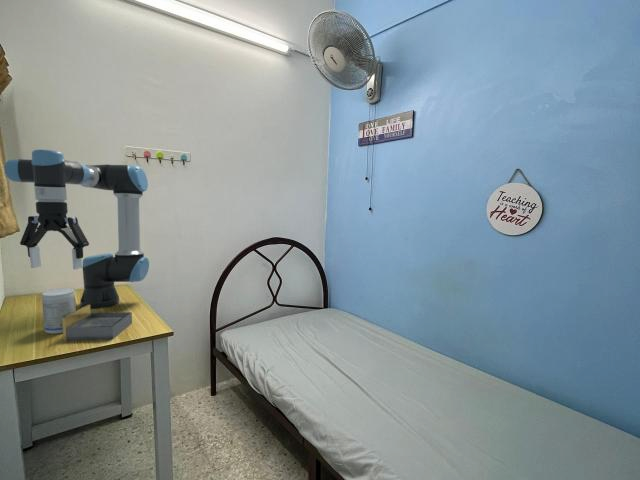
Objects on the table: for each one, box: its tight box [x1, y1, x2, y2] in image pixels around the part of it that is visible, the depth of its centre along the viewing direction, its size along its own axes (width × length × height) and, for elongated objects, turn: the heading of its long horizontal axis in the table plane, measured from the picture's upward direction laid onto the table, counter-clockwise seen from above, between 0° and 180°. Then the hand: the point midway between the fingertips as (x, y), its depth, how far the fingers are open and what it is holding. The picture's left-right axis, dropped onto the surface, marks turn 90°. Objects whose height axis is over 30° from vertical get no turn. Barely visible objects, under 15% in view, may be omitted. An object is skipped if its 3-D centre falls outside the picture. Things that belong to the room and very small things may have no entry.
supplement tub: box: [41, 287, 77, 335], centre depth 118 cm, size 10×10×15 cm
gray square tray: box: [62, 305, 133, 342], centre depth 118 cm, size 15×16×8 cm
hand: (56, 267), depth 101 cm, fingers open, 13 cm apart
